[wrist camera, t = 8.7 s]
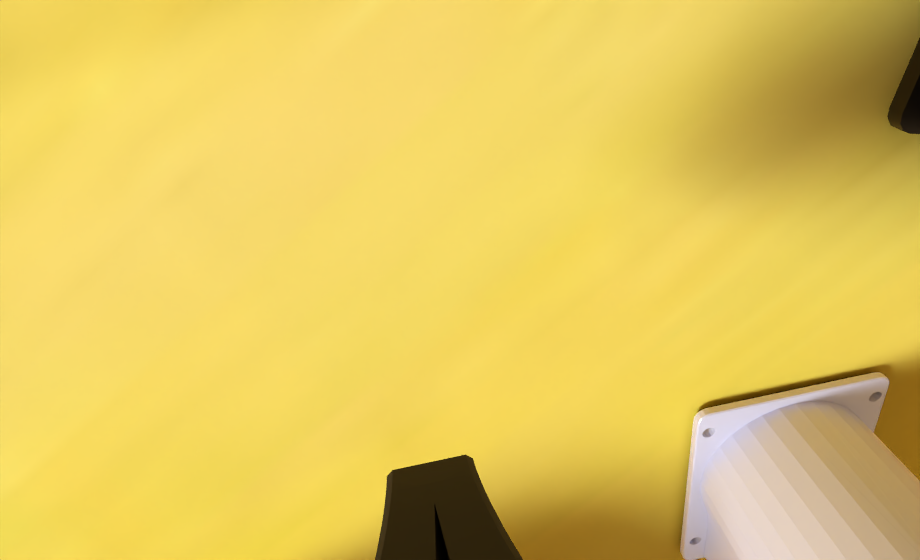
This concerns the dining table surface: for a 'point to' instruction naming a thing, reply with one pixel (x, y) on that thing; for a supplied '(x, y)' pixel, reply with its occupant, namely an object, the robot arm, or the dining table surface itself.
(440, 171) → the dining table surface
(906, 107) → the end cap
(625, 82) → the dining table surface
